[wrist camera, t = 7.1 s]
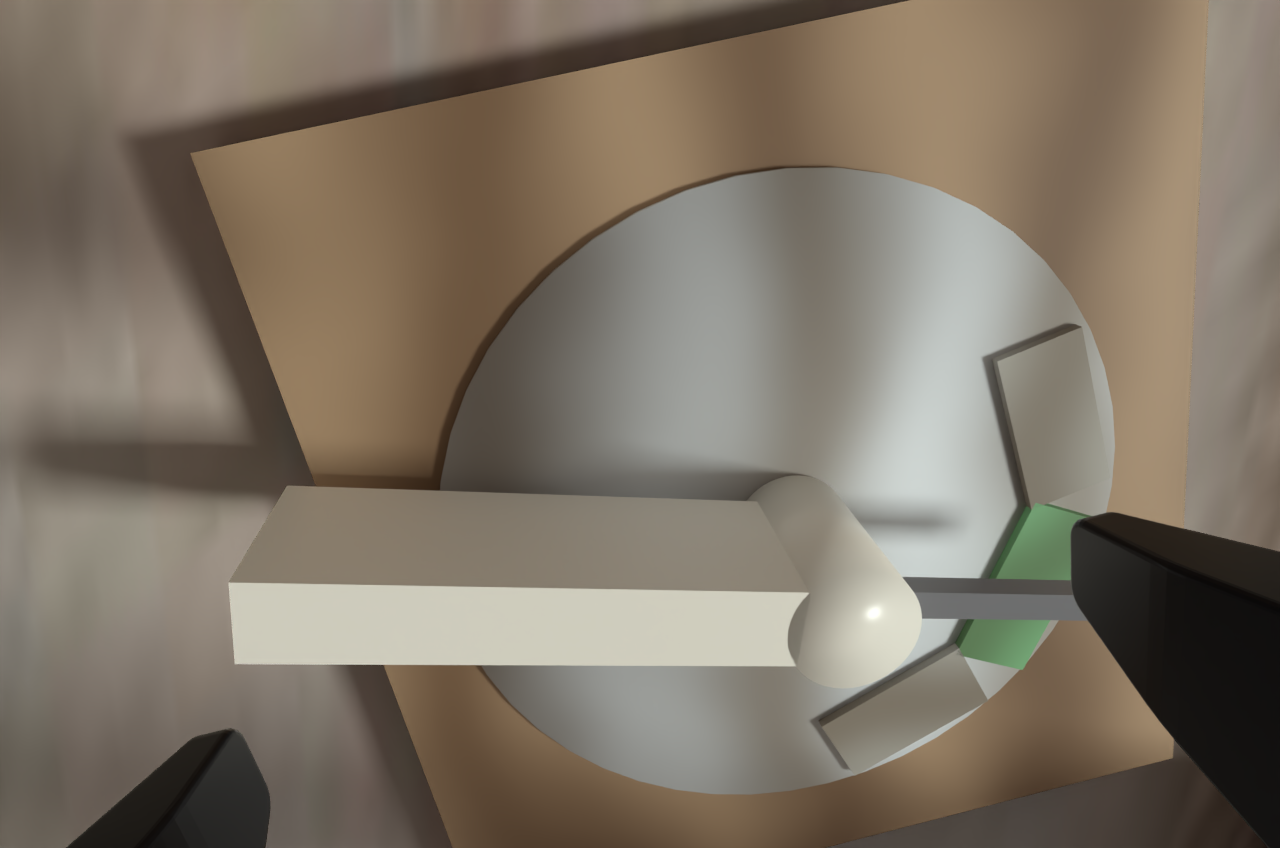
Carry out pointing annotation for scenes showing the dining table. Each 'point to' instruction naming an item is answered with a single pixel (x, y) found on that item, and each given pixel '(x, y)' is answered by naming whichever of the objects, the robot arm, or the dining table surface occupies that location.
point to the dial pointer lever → (596, 583)
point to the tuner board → (765, 380)
